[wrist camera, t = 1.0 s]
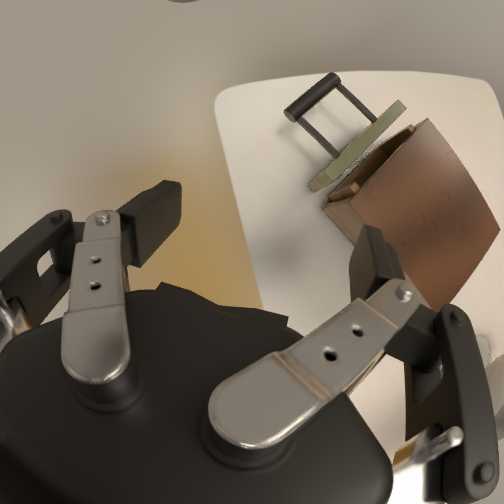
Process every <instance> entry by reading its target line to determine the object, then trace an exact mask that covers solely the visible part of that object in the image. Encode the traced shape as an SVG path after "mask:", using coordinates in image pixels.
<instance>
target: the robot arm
mask: <svg viewBox="0 0 504 504" xmlns="http://www.w3.org/2000/svg"><path fill="white" fill-rule="evenodd" d="M181 197H182V187H181V184H180V183H179V182H174V181H167V180H163V181H162V182H160V183H159V184H158V185H156V186H154V187H153V188H151V189H148V190H146V191H143V192H141V193H140V194H138V195H137V196H136V197H134V198H133V199H131V200H130V201H129V202H127V203H126V204H124V205H123V206H122V207H120V208H119V209H118V210H116V211H113V210H102V211H98V212H95V213H93V214H91V215H90V216H88V218H87V219H86V221H85V222H73V219H72V214H71V212H70V211H68V210H57V211H53V212H51V213H49V214H47V215H46V216H44V217H43V218H42V219H40V220H39V221H38V222H36V223H35V224H34V225H33V226H31V227H30V228H29V229H27V230H26V231H25V232H24V233H23V234H21V235H20V236H19V237H18V238H16V239H15V240H14V241H13V242H12V243H11V244H9V245H8V246H7V247H6V248H5V249H3V250H2V251H1V252H0V504H470V503H473V502H475V501H478V500H480V499H483V498H485V497H487V496H489V495H490V494H491V493H492V492H493V490H494V489H495V487H496V485H497V483H498V479H499V452H498V440H497V431H496V424H495V417H494V410H493V405H492V399H491V394H490V389H489V385H488V380H487V376H486V372H485V368H484V364H483V360H482V356H481V353H480V349H479V346H478V343H477V339H476V336H475V333H474V330H473V327H472V324H471V321H470V319H469V317H468V316H467V314H466V313H465V312H464V311H463V310H462V309H460V308H459V307H457V306H455V305H453V304H445V305H443V306H442V308H441V309H440V311H439V312H436V311H434V310H432V309H430V308H428V307H426V306H424V305H423V304H421V302H422V297H421V294H420V292H419V291H418V289H417V288H416V287H415V286H413V285H412V284H411V283H409V282H407V281H406V280H405V276H404V273H403V270H402V267H401V265H400V261H399V259H398V255H397V252H396V250H395V249H394V248H393V246H392V245H391V244H390V243H389V242H385V240H384V237H383V234H382V231H381V229H380V228H377V227H373V226H370V225H366V224H364V225H363V226H362V228H361V230H360V233H359V236H358V239H357V242H356V244H355V247H354V250H353V252H352V255H351V259H350V263H349V277H350V292H351V303H350V304H349V305H348V306H346V307H345V308H344V309H342V310H341V311H340V312H338V313H337V314H336V315H334V316H333V317H332V318H330V319H329V320H327V321H326V322H325V323H323V324H322V325H321V326H319V327H318V328H316V329H315V330H314V331H312V332H311V333H309V334H308V335H306V336H305V337H303V336H302V335H301V334H299V333H298V332H296V331H295V330H293V329H291V328H289V327H287V322H288V316H284V315H280V314H276V313H272V312H268V311H264V310H260V309H256V308H243V307H230V306H220V305H217V304H215V303H213V302H211V301H209V300H207V299H205V298H204V297H202V296H200V295H198V294H196V293H194V292H192V291H190V290H187V289H183V288H180V287H177V286H173V285H170V284H167V283H164V282H161V283H160V284H159V286H158V287H157V288H156V290H136V291H131V292H130V287H129V280H128V271H127V266H128V265H132V266H135V267H139V268H141V267H142V265H143V264H144V263H145V262H146V261H147V260H148V259H149V258H150V256H151V255H152V254H153V253H154V252H155V251H156V250H157V249H158V248H159V246H160V245H161V244H162V243H163V242H164V241H165V240H166V239H167V238H168V237H169V236H170V234H171V233H172V232H173V231H174V230H175V229H176V228H177V227H178V225H179V223H180V219H181ZM48 250H49V251H50V254H51V257H52V261H53V264H52V265H51V266H50V267H49V268H48V270H46V271H45V272H44V273H43V274H42V275H41V276H40V277H39V274H38V271H37V263H38V260H39V259H40V258H41V257H42V256H43V255H44V254H45V253H46V252H47V251H48ZM69 289H70V291H69V302H68V311H67V312H65V313H64V315H63V317H61V318H58V319H55V320H53V321H50V322H47V323H45V324H42V325H40V324H41V323H42V322H43V321H44V319H45V318H46V317H47V316H48V314H49V313H50V312H51V310H52V309H53V308H54V307H55V306H56V304H57V303H58V302H59V301H60V300H61V298H62V297H63V296H64V295H65V294H66V293H67V291H68V290H69ZM386 354H388V355H390V356H392V357H394V358H396V359H398V360H400V361H402V362H404V374H405V396H406V436H405V443H403V444H402V445H401V446H400V447H399V448H398V449H397V451H396V453H395V456H394V460H393V464H391V462H390V459H389V457H388V455H387V454H386V452H385V450H384V449H383V448H382V446H381V445H380V443H379V442H378V440H377V439H376V437H375V436H374V434H373V433H372V431H371V430H370V428H369V427H368V425H367V424H366V422H365V421H364V419H363V418H362V416H361V415H360V413H359V412H358V410H357V409H356V407H355V406H354V404H353V403H352V401H351V400H350V398H349V397H348V396H349V395H350V394H351V393H352V392H353V391H354V390H355V389H356V388H357V387H358V385H359V384H360V383H361V382H362V381H363V380H364V379H365V378H366V377H367V376H368V375H369V374H370V372H371V371H372V370H373V369H374V368H375V367H376V366H377V365H378V364H379V362H380V361H381V360H382V359H383V358H384V357H385V355H386ZM441 365H442V366H443V374H442V378H441V376H440V369H439V367H440V366H441Z"/></svg>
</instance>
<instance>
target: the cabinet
mask: <svg viewBox="0 0 504 504" xmlns="http://www.w3.org/2000/svg"><path fill="white" fill-rule="evenodd" d="M413 127H414V128H415V130H414V131H413V132H412V134H411V135H410V136H409V137H408V138H407V139H406V140H405V141H404V142H403V143H402V144H401V145H400V147H399V148H398V149H397V150H396V151H395V152H394V153H393V154H392V155H391V156H390V157H389V158H388V159H387V160H386V162H385V163H384V164H383V165H382V166H381V167H380V168H379V169H378V170H377V171H376V172H375V173H374V174H373V175H372V176H371V177H370V178H369V179H368V180H367V181H366V183H365V184H364V185H363V186H362V187H361V188H360V189H359V190H358V191H357V192H356V193H355V194H354V195H353V196H352V197H350V198H346V199H342V200H339V201H335V202H333V201H332V200H330V201H329V202H328V203H327V204H326V205H325V206H324V207H323V208H322V210H323V211H324V213H325V214H326V215H327V216H328V217H329V218H330V219H331V220H332V221H333V222H334V223H335V224H336V226H337V227H338V228H339V229H340V230H341V231H342V232H343V233H344V234H345V235H346V237H347V238H348V239H349V240H350V241H351V242H352V243H353V245H354V246H355V244H356V242H357V239H358V236H359V233H360V230H361V228H362V226H363V225H364V224H366V225H370V226H373V227H377V228H380V229H381V231H382V234H383V237H384V240H385V242H389V243H390V244H391V245H392V246H393V248H394V249H395V250H396V252H397V255H398V259H399V261H400V265H401V267H402V270H403V273H404V276H405V280H406V281H407V282H409V283H411V284H412V285H413V286H415V287H416V288H417V289H418V291H419V292H420V294H421V297H422V302H421V304H423V305H424V306H426V307H428V308H430V309H432V310H434V311H436V312H439V311H440V309H441V308H442V306H443V305H445V304H449V303H450V302H451V301H452V300H453V298H454V297H455V296H456V294H457V293H458V292H459V291H460V289H461V288H462V287H463V285H464V284H465V283H466V281H467V280H468V279H469V277H470V276H471V274H472V273H473V272H474V270H475V269H476V267H477V266H478V264H479V263H480V261H481V260H482V258H483V257H484V255H485V254H486V252H487V251H488V249H489V248H490V246H491V244H492V243H493V241H494V240H495V238H496V236H497V235H498V233H499V231H500V228H499V226H498V224H497V222H496V220H495V218H494V216H493V214H492V212H491V210H490V208H489V206H488V205H487V203H486V201H485V199H484V198H483V196H482V194H481V192H480V191H479V189H478V187H477V186H476V184H475V182H474V181H473V179H472V178H471V176H470V175H469V173H468V171H467V170H466V168H465V167H464V165H463V164H462V163H461V161H460V160H459V158H458V157H457V155H456V154H455V152H454V151H453V150H452V148H451V147H450V146H449V144H448V143H447V142H446V140H445V139H444V138H443V136H442V135H441V134H440V133H439V131H438V130H437V129H436V127H435V126H434V125H433V124H432V123H431V121H430V120H429V119H428V118H427V119H425V120H423V121H422V122H420V123H418V124H417V125H415V126H413Z"/></svg>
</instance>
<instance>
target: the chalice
mask: <svg viewBox="0 0 504 504" xmlns="http://www.w3.org/2000/svg"><path fill="white" fill-rule="evenodd" d="M476 339H477V343H478V346H479V349H480V353H481V356H482V360H483V364H484V368H485V372H486V376H487V380H488V385H489V389H490V394H491V399H492V405H493V410H494V417H495V424H496V431H497V440H498V441H499V440H500V439H502V438H504V354H503V355H501V356H500V357H498V358H496V359H495V360H494V361H493V362H492V363H491V364H490V365H489V366H488V367H487V364H488V361H489V355H490V347H489V344H488V342H487V340H486V339H485V338H483V337H479V336H477V337H476ZM486 367H487V368H486ZM442 374H443V372H442ZM441 378H442V375H441Z"/></svg>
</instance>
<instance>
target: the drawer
mask: <svg viewBox="0 0 504 504" xmlns="http://www.w3.org/2000/svg"><path fill="white" fill-rule="evenodd" d="M335 88H336V89H337V90H338V91H340V92H341V93H342V94H343V95H344V96H345V97H346V98H347V99H348V100H349V101H350V102H351V103H352V104H354V105H355V106H356V107H357V108H358V109H359V110H360V111H361V112H362V113H363V114H364V115H365V116H366V117H367V118H368V119H369V120H370V121H371V122H372V123H371V124H370V125H369V126H368V127H367V128H366V129H365V130H364V131H363V132H362V133H361V134H360V135H359V136H357V137H356V138H355V139H354V140H353V141H352V142H351V143H350V144H349V145H348V146H347V147H346V148H345V149H344V150H343V151H342V152H341V153H339V152H338V151H337V150H336V149H335V148H334V147H333V146H332V145H331V144H330V143H329V142H328V141H327V140H326V139H325V138H324V137H323V136H322V135H321V134H320V133H319V132H318V131H317V130H316V129H315V128H314V127H312V126H311V125H310V124H309V123H308V122H307V121H306V120H305V119H304V118H303V117H302V116H303V115H304V114H305V113H306V112H308V111H309V110H310V109H311V108H312V107H313V106H315V105H316V104H317V103H318V102H319V101H320V100H322V99H323V98H324V97H325V96H326V95H328V94H329V93H330V92H331V91H332V90H334V89H335ZM406 109H407V108H406V107H405V106H404V105H403V104H402V103H401V102H400V101H399V100H397V101H396V102H395V103H394V104H393V105H392V106H390V107H389V108H388V109H387V110H386V111H385V112H384V113H382V114H381V115H380V116H379V117H378V118H376V117H375V116H374V115H373V114H372V113H371V112H370V111H369V110H368V109H367V108H366V107H365V106H364V105H363V104H362V103H361V102H360V101H359V100H358V99H357V98H356V97H355V96H354V95H353V94H352V93H351V92H350V91H349V90H348V89H346V88H345V87H344V86H343V85H342V84H341V80H340V78H339V77H338V75H336V74H335V73H332V72H331V73H329V74H328V75H326V76H325V77H324V78H322V79H321V80H320V81H319V82H317V83H316V84H315V85H314V86H312V87H311V88H310V89H309V90H308V91H306V92H305V93H304V94H303V95H301V96H300V97H299V98H298V99H297V100H295V101H294V102H293V103H292V104H291V105H290V106H288V107H287V108H286V109H285V110H284V114H285V116H286V117H287V118H288V119H289V120H290V121H292V122H296V121H297V122H298V123H299V124H300V125H301V126H302V127H303V128H304V129H305V130H306V131H307V132H308V133H309V134H310V135H311V136H312V137H314V138H315V139H316V140H317V141H318V142H319V143H320V144H321V145H322V146H323V147H324V148H325V149H326V150H327V151H328V152H329V153H330V154H331V155H332V156H333V157H334V158H335V159H334V160H333V161H332V162H331V163H330V164H328V165H327V166H326V167H325V168H324V169H323V170H322V171H321V172H320V173H319V174H318V175H317V176H316V177H315V178H314V179H313V180H312V181H311V182H310V183H309V184H308V186H309V187H310V188H311V189H312V190H313V191H314V192H316V191H318V190H320V189H321V188H323V187H325V186H327V185H328V184H330V183H332V182H334V181H335V180H336V179H337V178H338V177H339V176H340V175H341V174H342V173H343V172H344V171H345V170H346V169H347V168H348V167H349V166H350V165H351V164H352V163H353V162H354V161H355V160H356V159H357V158H358V157H359V156H360V155H361V154H362V153H363V152H364V151H365V150H366V149H367V148H368V147H369V146H370V145H371V144H372V143H373V142H374V141H375V140H376V139H377V138H378V137H379V136H380V135H381V134H382V133H383V132H384V131H385V130H386V129H387V128H388V127H389V126H390V125H391V124H392V123H393V122H394V121H395V120H396V119H397V118H398V117H399V116H400V115H401V114H402V113H403V112H404V111H405V110H406ZM414 130H415V128H414V127H413V125H412V124H411V125H409V126H407V127H406V128H404V129H403V130H401V131H400V132H398V133H397V134H395V135H393V136H392V137H390V138H389V139H387V140H386V141H384V142H382V143H381V144H380V145H379V146H378V147H377V148H376V149H375V150H374V151H373V152H372V153H371V154H370V155H369V156H368V157H367V158H366V159H365V160H364V161H363V162H362V163H361V164H360V165H359V166H358V167H357V168H356V169H355V170H354V171H353V172H352V173H351V174H350V175H349V176H348V177H347V178H346V179H345V180H344V181H343V182H342V183H341V184H340V185H339V186H338V187H337V188H336V189H335V190H334V191H333V192H332V193H331V194H330V195H329V196H328V197H329V198H330V199H331V200H332V201H333V202H335V201H339V200H342V199H346V198H350V197H352V196H353V195H354V194H355V193H356V192H357V191H358V190H359V189H360V188H361V187H362V186H363V185H364V184H365V183H366V181H367V180H368V179H369V178H370V177H371V176H372V175H373V174H374V173H375V172H376V171H377V170H378V169H379V168H380V167H381V166H382V165H383V164H384V163H385V162H386V160H387V159H388V158H389V157H390V156H391V155H392V154H393V153H394V152H395V151H396V150H397V149H398V148H399V147H400V145H401V144H402V143H403V142H404V141H405V140H406V139H407V138H408V137H409V136H410V135H411V134H412V132H413V131H414Z"/></svg>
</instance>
